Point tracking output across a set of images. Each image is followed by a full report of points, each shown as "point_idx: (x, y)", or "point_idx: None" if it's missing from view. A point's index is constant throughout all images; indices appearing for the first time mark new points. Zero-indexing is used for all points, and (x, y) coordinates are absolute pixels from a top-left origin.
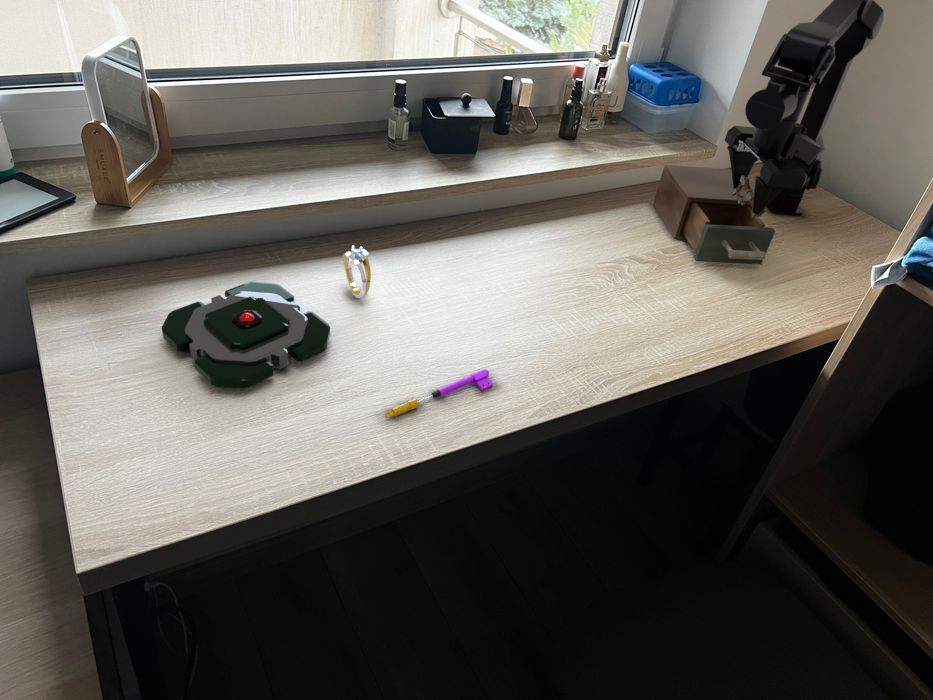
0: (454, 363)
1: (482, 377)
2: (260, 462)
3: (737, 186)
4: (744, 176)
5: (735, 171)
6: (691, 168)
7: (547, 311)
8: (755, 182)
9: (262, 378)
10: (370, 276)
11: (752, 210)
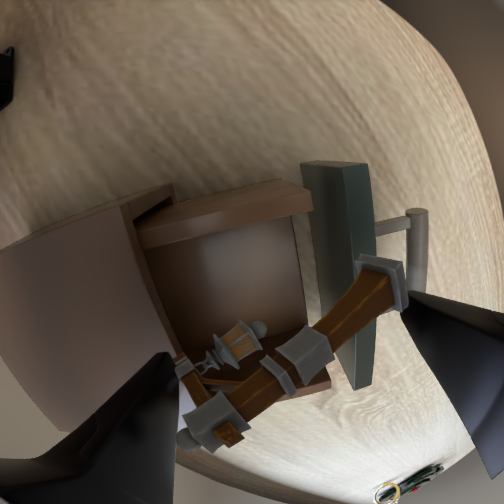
0: (450, 435)
1: None
2: (470, 442)
3: (173, 387)
4: (191, 444)
5: (171, 473)
6: (25, 384)
7: (420, 428)
8: (483, 454)
9: (441, 467)
10: (399, 492)
11: (176, 225)
